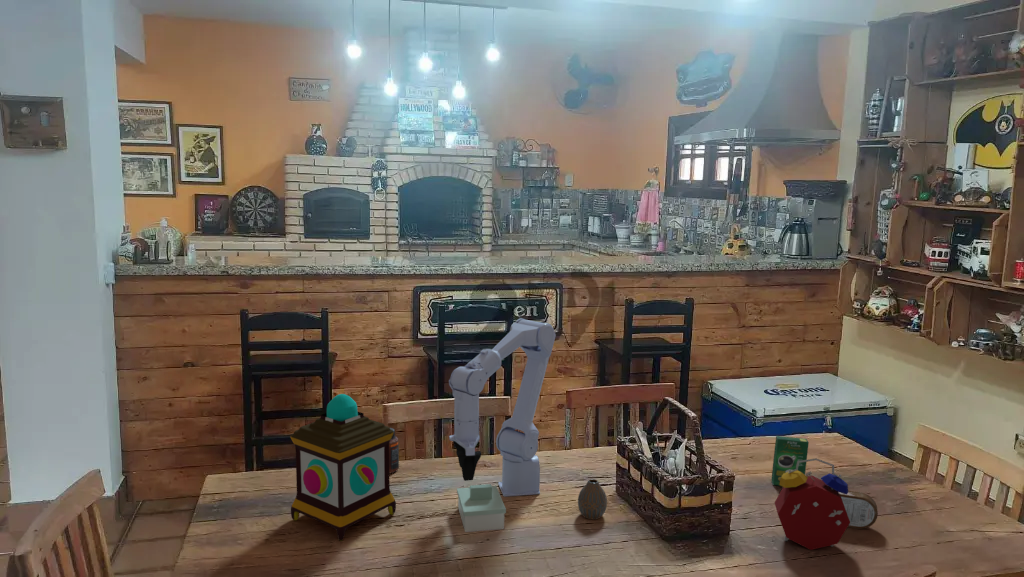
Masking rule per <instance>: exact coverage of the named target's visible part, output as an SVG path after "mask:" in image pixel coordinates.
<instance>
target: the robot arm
mask: <svg viewBox="0 0 1024 577" xmlns="http://www.w3.org/2000/svg"><path fill="white" fill-rule="evenodd" d="M556 336H557V334H556V332H555V329H554V327H553V325H552V324H551V323H550V322H549V323H548V322H540V321H535V320H528V319H525V318H522V317H520V318H518V319H516V321H515V322H513V323H512V324H511V326H510V328H509V332H507V334H506V335H505V336H504V337H503V338H502V339H501V340H500V341H499V342H498V343H497V344H496V345H495V346H494V347H493V348H492V349H491V348H483V349H482V350H480V352H479V353H478V354H477V355H476V356H475V357H474V358H473V359H472V360H471V359H470V360H469V362H467V364H465V365H464V366H457V368H455V369H453V370H452V372H451V375H450V378H449V379H448V385H449V387H450V389H451V390H452V397H453V398H454V401H453V403H454V406H453V407H454V408H453V409H454V410H453V412H454V413H453V414H454V421H453V424H454V428H453V429H454V432H453V434H452V435H449V436H448V438H449V441H450V442H453V444H454V447H455V448H456V451H455V452H456V456H457V459H458V465H459V467H460V468H461V474H462V478H463V481H466V482H467V481H473V480H474V477H475V472H476V469H477V465H478V463H479V461H480V459H481V457H482V451H481V450H480V451H477V450H476V449H475V448H476V446H477V444H478V443H479V441H480V433H479V432H480V431H479V430H480V426H479V424H480V422H479V421H480V393H481V392H482V391H483V390H484V388H485V385H486V383H487V382H488V379H489V378H490V377H491V376H493V374H494V373H496V372H497V371H498V370H499V369H501V366H502V361H503V360H504V359H505V358H506V357H509V355H510V354H512V353H514V352H515V351H516V350H518V349H519V348H520V349H521V350H522V352H524V353H525V355H526V357H527V360H526V364H525V368H524V372H523V375H522V379H521V383H520V386H519V390H518V394H517V398H516V402H515V406H514V408H513V412H512V416H511V417H510V418H508V419H506V420H504V421H503V422H502V425H501V429H500V430H499V432H498V433H497V435H496V439H495V444H496V448H497V450H498V451H500V456H502V467H501V468H502V474H501V477H502V478H501V481H498V483H497V484H498V486H499V488H500V491H501V493H502V496H503V497H517V496H529V495H530V496H531V495H540V494H541V491H540V487H541V486H540V482H541V480H540V479H541V478H540V475H541V465H540V460H539V457H538V455H537V451H538V448H539V443H538V442H539V435H540V431H539V430H538V428H537V427H536V426H535V424H534V422H533V421H534V418H535V414H536V410H537V406H538V402H539V398H540V394H541V391H542V387H543V383H544V379H545V375H546V372H547V368H548V364H549V360H550V357H552V352H553V348H554V343H555V341H556V340H555V339H556Z"/></svg>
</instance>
